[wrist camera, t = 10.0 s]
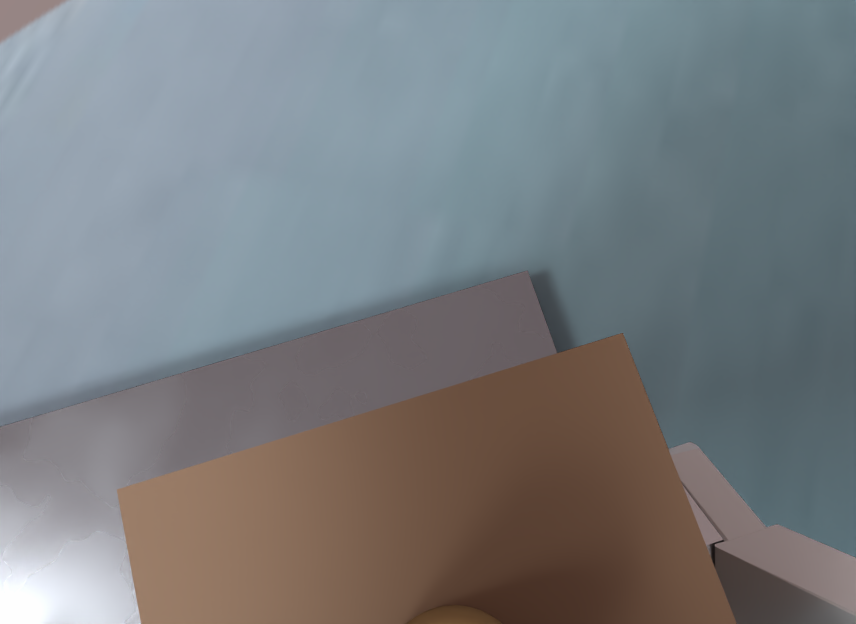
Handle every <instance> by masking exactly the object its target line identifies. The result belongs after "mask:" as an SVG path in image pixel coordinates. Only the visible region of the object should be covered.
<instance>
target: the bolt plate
mask: <svg viewBox="0 0 856 624" xmlns="http://www.w3.org/2000/svg"><path fill="white" fill-rule="evenodd" d="M556 353H557V351H556V348H555V345H554V343H553V340H552V337H551V334H550V332H549V329H548V326H547V323H546V320H545V318H544V315H543V312H542V309H541V307H540V304H539V301H538V298H537V295H536V293H535V290H534V287H533V284H532V282H531V279H530V276H529V273H528V271H524V272H521V273H517V274H514V275H511V276H507V277H504V278H501V279H497V280H494V281H490V282H487V283H484V284H480V285H477V286H474V287H470V288H467V289H463V290H460V291H457V292H453V293H450V294H447V295H443V296H440V297H437V298H433V299H430V300H426V301H423V302H420V303H416V304H413V305H410V306H406V307H403V308H399V309H396V310H393V311H389V312H386V313H383V314H379V315H376V316H372V317H369V318H366V319H362V320H359V321H356V322H352V323H349V324H345V325H342V326H339V327H335V328H332V329H329V330H325V331H322V332H319V333H315V334H312V335H308V336H305V337H302V338H298V339H295V340H292V341H288V342H285V343H281V344H278V345H275V346H271V347H268V348H265V349H261V350H258V351H254V352H251V353H248V354H244V355H241V356H238V357H234V358H231V359H227V360H224V361H221V362H217V363H214V364H211V365H207V366H204V367H201V368H197V369H194V370H190V371H187V372H184V373H180V374H177V375H174V376H170V377H167V378H163V379H160V380H157V381H153V382H150V383H147V384H143V385H140V386H136V387H133V388H130V389H126V390H123V391H120V392H116V393H113V394H109V395H106V396H103V397H99V398H96V399H93V400H89V401H86V402H82V403H79V404H76V405H72V406H69V407H66V408H62V409H59V410H56V411H52V412H49V413H45V414H42V415H39V416H35V417H32V418H29V419H25V420H22V421H18V422H15V423H12V424H8V425H5V426H2V427H0V624H141V620H140V615H139V610H138V604H137V599H136V593H135V588H134V582H133V577H132V571H131V566H130V560H129V555H128V549H127V544H126V538H125V533H124V527H123V522H122V516H121V511H120V505H119V500H118V494H117V489H120V488H123V487H126V486H130V485H133V484H136V483H139V482H143V481H146V480H149V479H152V478H156V477H159V476H162V475H165V474H169V473H172V472H175V471H178V470H181V469H185V468H188V467H191V466H194V465H198V464H201V463H204V462H207V461H211V460H214V459H217V458H220V457H223V456H227V455H230V454H233V453H236V452H240V451H243V450H246V449H249V448H253V447H256V446H259V445H262V444H265V443H269V442H272V441H275V440H278V439H282V438H285V437H288V436H291V435H295V434H298V433H301V432H304V431H307V430H311V429H314V428H317V427H320V426H324V425H327V424H330V423H333V422H337V421H340V420H343V419H346V418H349V417H353V416H356V415H359V414H362V413H366V412H369V411H372V410H375V409H379V408H382V407H385V406H388V405H392V404H395V403H398V402H401V401H404V400H408V399H411V398H414V397H417V396H421V395H424V394H427V393H430V392H434V391H437V390H440V389H443V388H446V387H450V386H453V385H456V384H459V383H463V382H466V381H469V380H472V379H476V378H479V377H482V376H485V375H488V374H492V373H495V372H498V371H501V370H505V369H508V368H511V367H514V366H518V365H521V364H524V363H527V362H530V361H534V360H537V359H540V358H543V357H547V356H550V355H553V354H556Z"/></svg>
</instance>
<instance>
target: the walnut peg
mask: <svg viewBox="0 0 856 624" xmlns="http://www.w3.org/2000/svg"><path fill="white" fill-rule="evenodd" d="M117 494H118V500H119V505H120V511H121V516H122V522H123V527H124V533H125V538H126V544H127V549H128V555H129V560H130V566H131V571H132V577H133V582H134V588H135V593H136V599H137V604H138V610H139V615H140V620H141V624H737V623H736V620H735V618H734V615H733V613H732V610H731V607H730V605H729V602H728V600H727V597H726V595H725V592H724V590H723V587H722V585H721V582H720V579H719V577H718V574H717V572H716V569H715V567H714V564H713V562H712V559H711V556H710V554H709V551H708V549H707V546H706V544H705V541H704V539H703V536H702V534H701V531H700V528H699V526H698V523H697V521H696V518H695V516H694V513H693V511H692V508H691V506H690V503H689V500H688V498H687V495H686V493H685V490H684V488H683V485H682V483H681V480H680V478H679V475H678V472H677V470H676V467H675V465H674V462H673V460H672V457H671V455H670V452H669V449H668V447H667V444H666V442H665V439H664V437H663V434H662V432H661V429H660V427H659V424H658V421H657V419H656V416H655V414H654V411H653V409H652V406H651V404H650V401H649V399H648V396H647V393H646V391H645V388H644V386H643V383H642V381H641V378H640V376H639V373H638V371H637V368H636V365H635V363H634V360H633V358H632V355H631V353H630V350H629V348H628V345H627V343H626V340H625V337H624V335H623V333H621V334H618V335H615V336H611V337H608V338H605V339H602V340H598V341H595V342H592V343H589V344H585V345H582V346H579V347H576V348H572V349H569V350H566V351H563V352H560V353H556V354H553V355H550V356H547V357H543V358H540V359H537V360H534V361H530V362H527V363H524V364H521V365H518V366H514V367H511V368H508V369H505V370H501V371H498V372H495V373H492V374H488V375H485V376H482V377H479V378H476V379H472V380H469V381H466V382H463V383H459V384H456V385H453V386H450V387H446V388H443V389H440V390H437V391H434V392H430V393H427V394H424V395H421V396H417V397H414V398H411V399H408V400H404V401H401V402H398V403H395V404H392V405H388V406H385V407H382V408H379V409H375V410H372V411H369V412H366V413H362V414H359V415H356V416H353V417H349V418H346V419H343V420H340V421H337V422H333V423H330V424H327V425H324V426H320V427H317V428H314V429H311V430H307V431H304V432H301V433H298V434H295V435H291V436H288V437H285V438H282V439H278V440H275V441H272V442H269V443H265V444H262V445H259V446H256V447H253V448H249V449H246V450H243V451H240V452H236V453H233V454H230V455H227V456H223V457H220V458H217V459H214V460H211V461H207V462H204V463H201V464H198V465H194V466H191V467H188V468H185V469H181V470H178V471H175V472H172V473H169V474H165V475H162V476H159V477H156V478H152V479H149V480H146V481H143V482H139V483H136V484H133V485H130V486H126V487H123V488H120V489H117Z"/></svg>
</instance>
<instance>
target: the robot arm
mask: <svg viewBox="0 0 856 624" xmlns="http://www.w3.org/2000/svg"><path fill="white" fill-rule="evenodd" d="M669 452H670V455H671V457H672V460H673V462H674V465H675V467H676V470H677V472H678V475H679V478H680V480H681V483H682V485H683V488H684V490H685V493H686V495H687V498H688V500H689V503H690V506H691V508H692V511H693V513H694V516H695V518H696V521H697V523H698V526H699V528H700V531H701V534H702V536H703V539H704V541H705V544H706V546H707V549H708V551H709V554H710V556H711V559H712V562H713V564H714V567H715V569H716V572H717V574H718V577H719V579H720V582H721V585H722V587H723V590H724V592H725V595H726V597H727V600H728V602H729V605H730V607H731V610H732V613H733V615H734V618H735V620H736V623H737V624H856V558H855V557H853V556H851V555H848V554H846V553H844V552H841V551H839V550H837V549H834V548H832V547H830V546H827V545H825V544H823V543H820V542H818V541H816V540H813V539H811V538H809V537H806V536H804V535H802V534H799V533H797V532H795V531H792V530H790V529H788V528H785V527H783V526H781V525H778V524H776V525H773V526H769V527H766V526H765V525H764V524H763V523H762V521H761V520H760V519H759V518H758V517H757V515H756V514H755V513H754V512H753V511H752V510H751V508H750V507H749V506H748V505H747V504H746V502H745V501H744V500H743V499H742V498H741V497H740V495H739V494H738V493H737V492H736V491H735V489H734V488H733V487H732V486H731V485H730V484H729V482H728V481H727V480H726V479H725V478H724V476H723V475H722V474H721V473H720V472H719V470H718V469H717V468H716V467H715V466H714V465H713V463H712V462H711V461H710V460H709V459H708V457H707V456H706V455H705V454H704V453H703V452H702V450H701V449H700V448H699V447H698V446H697V445H695V444H693V443H691V442H688V443H685V444H682V445H679V446H676V447H673V448H670V449H669Z"/></svg>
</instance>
